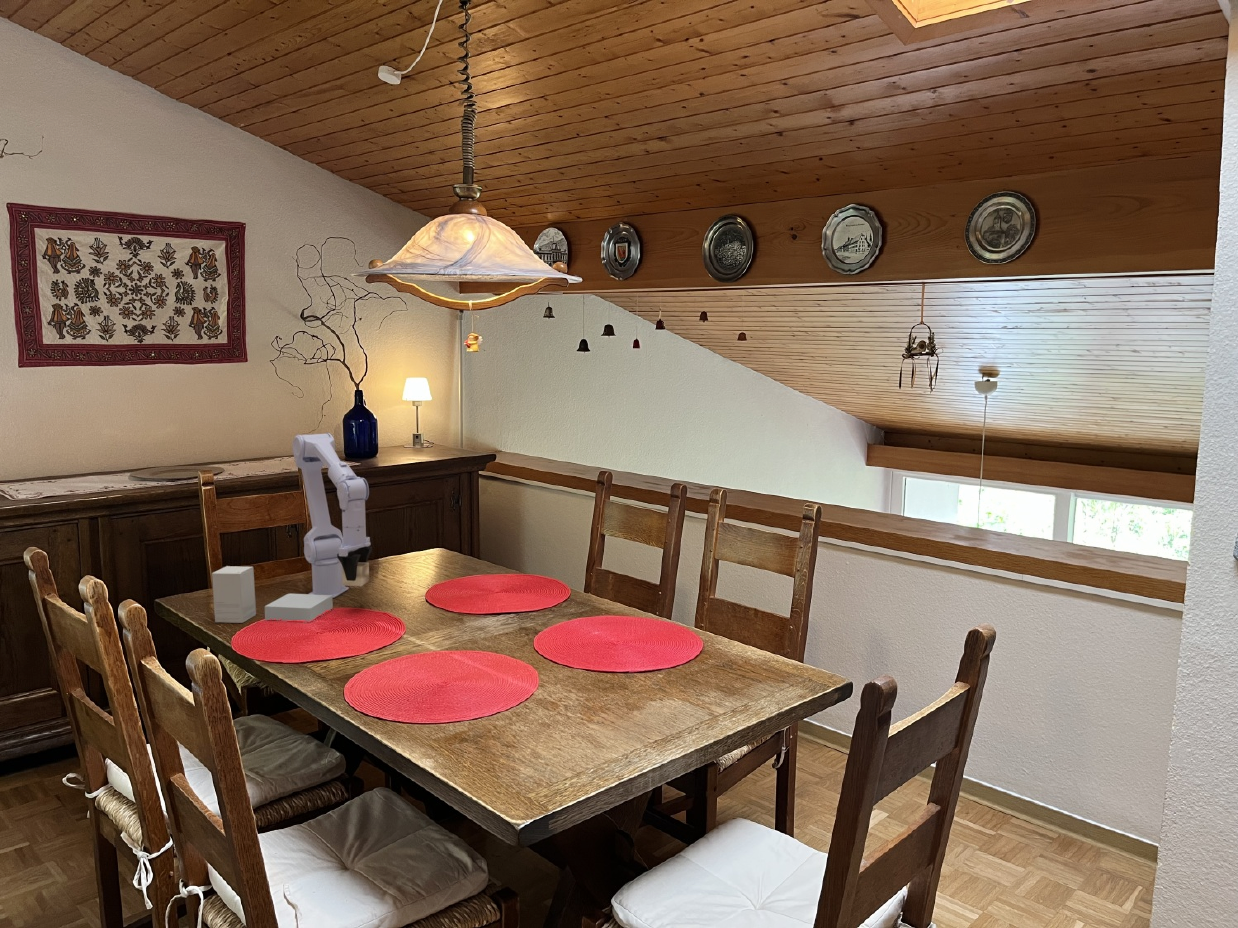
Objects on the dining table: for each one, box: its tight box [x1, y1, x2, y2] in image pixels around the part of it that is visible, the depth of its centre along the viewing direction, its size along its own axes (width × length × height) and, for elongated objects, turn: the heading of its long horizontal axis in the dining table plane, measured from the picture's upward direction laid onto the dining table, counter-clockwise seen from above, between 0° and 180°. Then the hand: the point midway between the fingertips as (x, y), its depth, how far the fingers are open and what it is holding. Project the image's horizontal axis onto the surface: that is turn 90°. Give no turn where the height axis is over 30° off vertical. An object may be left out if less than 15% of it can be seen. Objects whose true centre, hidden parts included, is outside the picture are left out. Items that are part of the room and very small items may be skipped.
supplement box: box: [211, 565, 257, 624], centre depth 227 cm, size 7×7×13 cm
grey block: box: [264, 593, 334, 621], centre depth 232 cm, size 12×12×4 cm
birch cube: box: [342, 561, 370, 587], centre depth 236 cm, size 5×5×5 cm
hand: (355, 577), depth 236 cm, fingers closed on birch cube, 5 cm apart
